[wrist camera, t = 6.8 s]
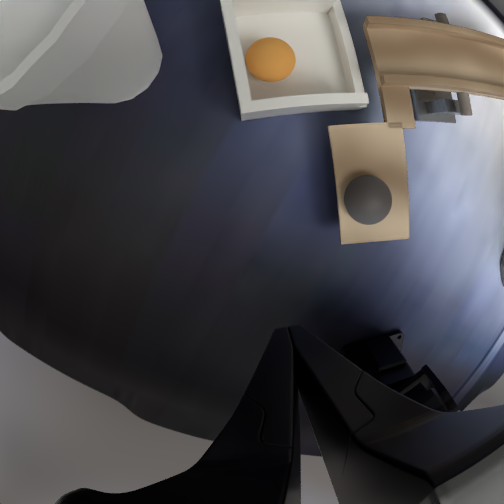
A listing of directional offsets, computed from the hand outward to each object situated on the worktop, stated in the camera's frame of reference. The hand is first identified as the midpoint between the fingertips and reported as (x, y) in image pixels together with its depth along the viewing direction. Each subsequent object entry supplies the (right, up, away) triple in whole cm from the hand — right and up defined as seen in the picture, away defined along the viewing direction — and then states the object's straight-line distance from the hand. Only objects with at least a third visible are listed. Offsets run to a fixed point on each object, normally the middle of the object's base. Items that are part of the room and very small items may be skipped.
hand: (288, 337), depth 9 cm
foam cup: (-11, +17, +7) cm, 21 cm away
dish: (+2, +17, +8) cm, 18 cm away
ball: (0, +15, +6) cm, 16 cm away
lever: (+16, +13, +6) cm, 21 cm away
